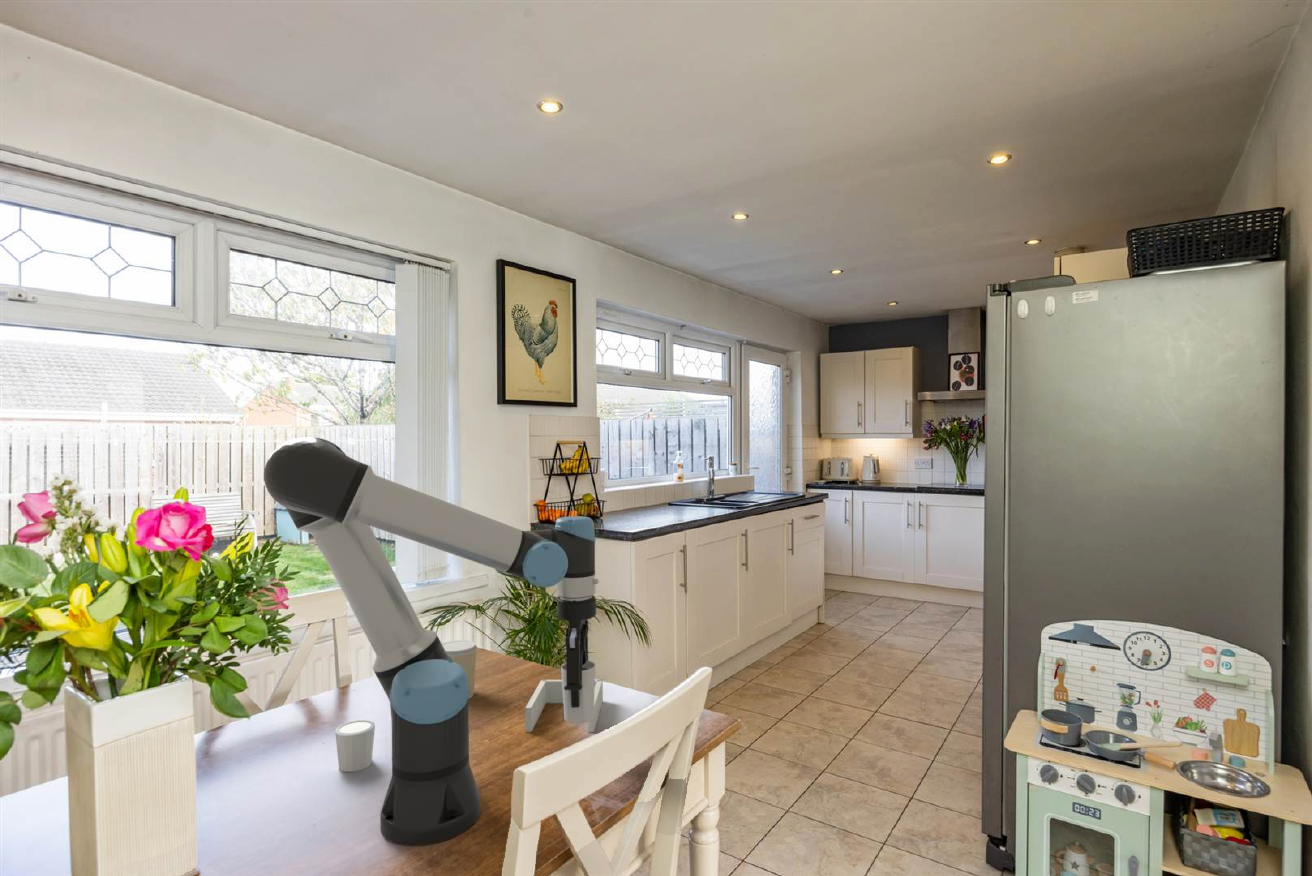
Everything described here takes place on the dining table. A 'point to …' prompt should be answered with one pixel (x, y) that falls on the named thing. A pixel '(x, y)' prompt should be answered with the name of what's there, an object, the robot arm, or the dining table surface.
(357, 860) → the dining table surface
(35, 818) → the dining table surface
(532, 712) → the u-shaped frame
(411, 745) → the robot arm
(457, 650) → the coffee cup
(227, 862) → the dining table surface
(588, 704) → the white cup
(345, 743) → the white tapered cup
